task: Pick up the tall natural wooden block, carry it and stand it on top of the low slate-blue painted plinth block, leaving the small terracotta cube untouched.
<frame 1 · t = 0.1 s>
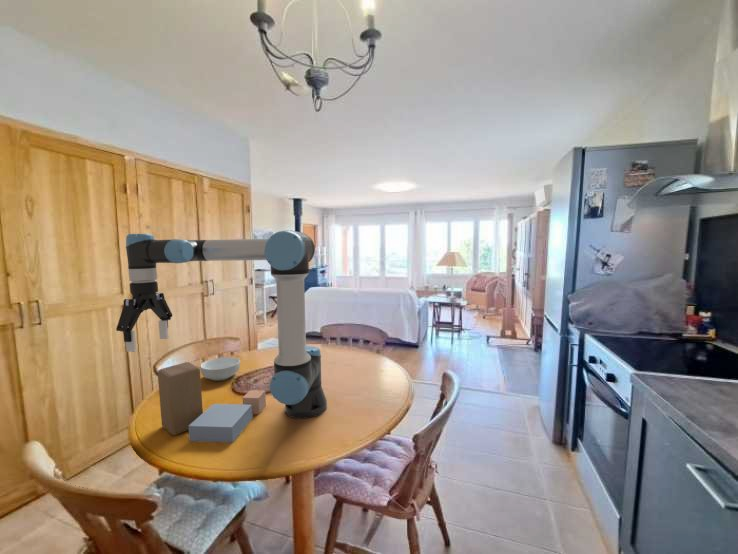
hand: (148, 344, 107), 28 cm above the table, fingers open, 13 cm apart
terracotta cube: (254, 409, 119), on the table
cereal bowl: (221, 377, 149), on the table
wooden block: (183, 425, 109), on the table
plinth: (222, 429, 107), on the table
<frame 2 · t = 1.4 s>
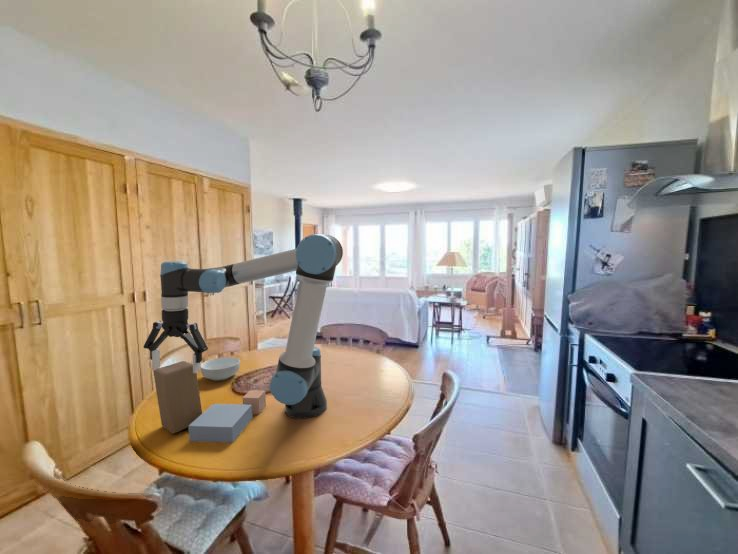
hand: (176, 371, 108), 19 cm above the table, fingers open, 13 cm apart
wooden block: (183, 424, 109), on the table, touching gripper
everything else where it was.
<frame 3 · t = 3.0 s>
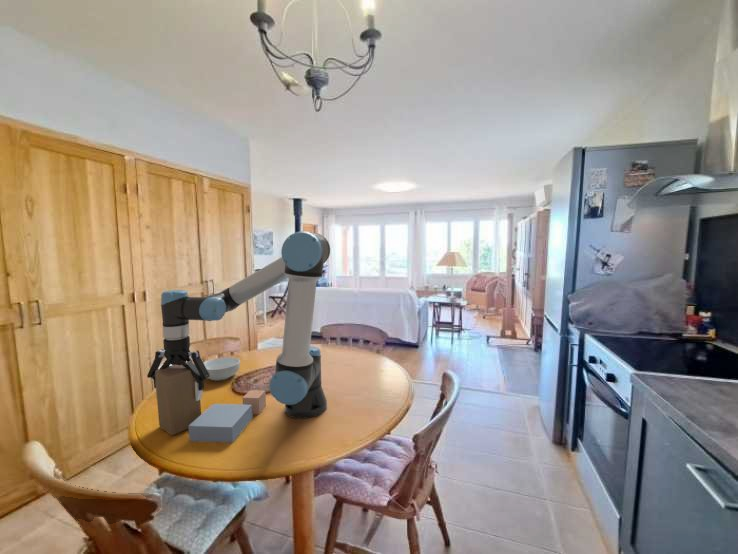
hand: (179, 398, 109), 9 cm above the table, fingers closed on wooden block, 13 cm apart
wooden block: (180, 425, 109), on the table, touching gripper
everything else where it was.
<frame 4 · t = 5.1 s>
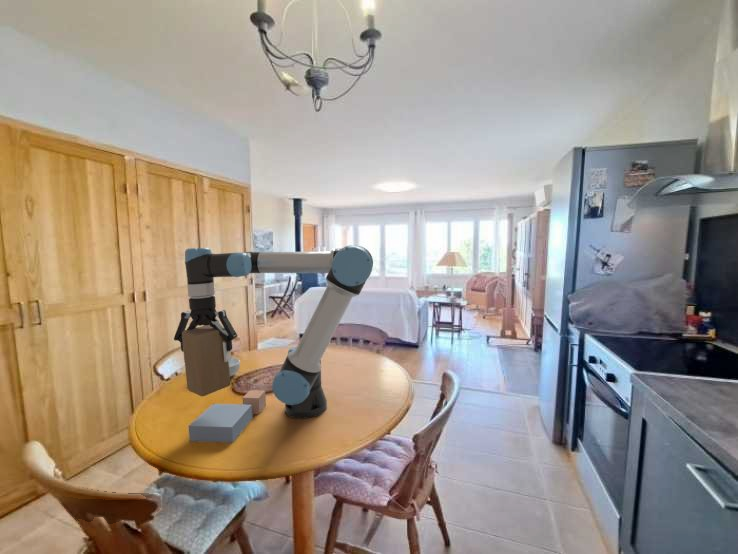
hand: (207, 360, 105), 23 cm above the table, fingers closed on wooden block, 13 cm apart
wooden block: (209, 388, 106), point 14 cm above the table, touching gripper
everything else where it was.
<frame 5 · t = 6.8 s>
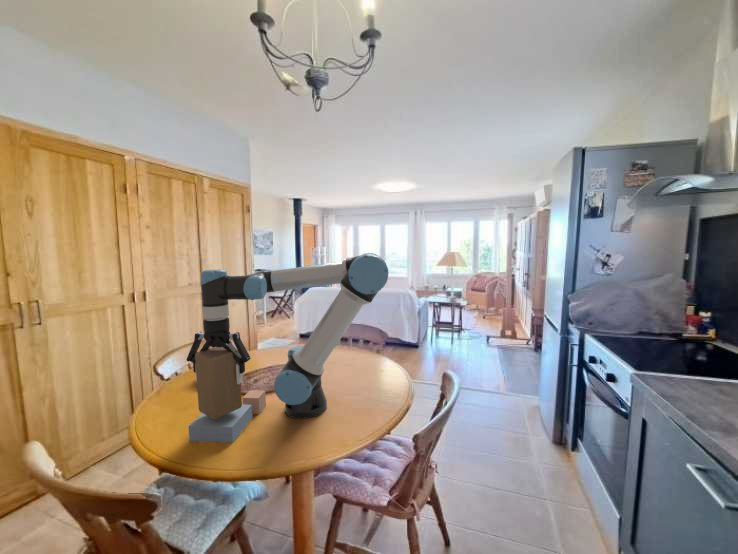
hand: (220, 382, 105), 16 cm above the table, fingers closed on wooden block, 13 cm apart
wooden block: (220, 410, 106), point 7 cm above the table, touching gripper
everything else where it was.
when the fingers open (15 cm above the table, at t = 7.8 s): wooden block stays where it is, resting on plinth.
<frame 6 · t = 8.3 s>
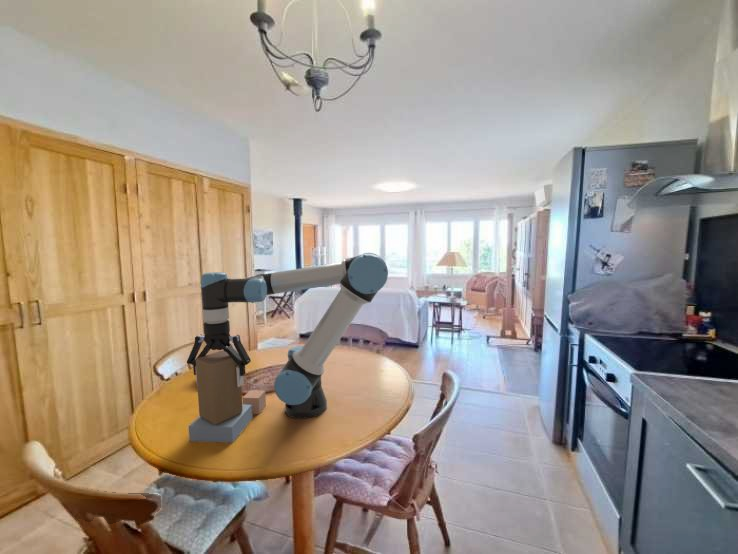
hand: (220, 384, 105), 15 cm above the table, fingers open, 13 cm apart
wooden block: (221, 415, 106), point 5 cm above the table, touching gripper, plinth
everything else where it was.
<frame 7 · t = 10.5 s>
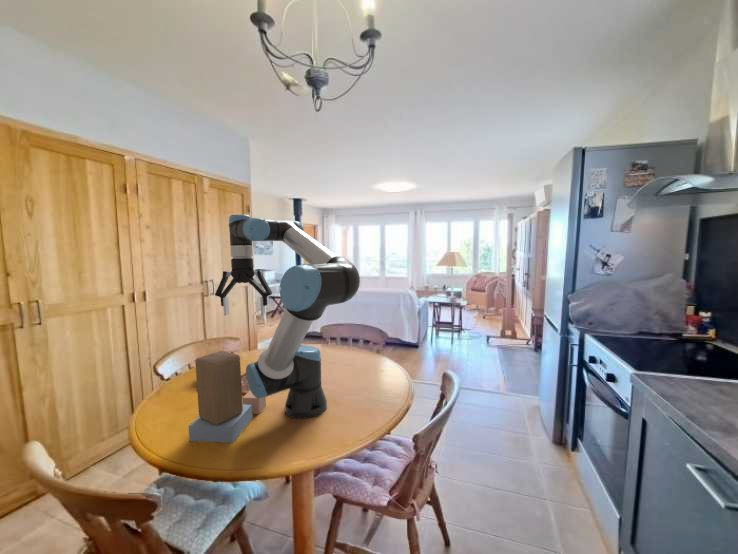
hand: (244, 314, 120), 35 cm above the table, fingers open, 13 cm apart
wooden block: (221, 416, 106), point 5 cm above the table, touching plinth
everything else where it was.
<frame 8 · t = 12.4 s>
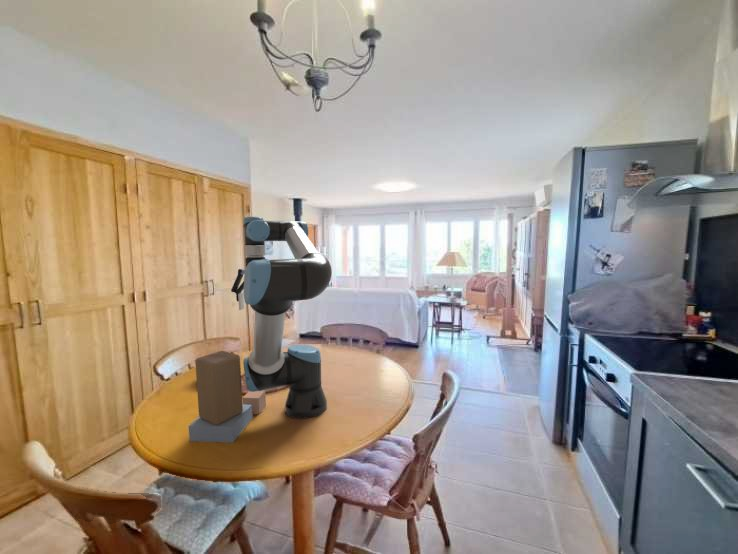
hand: (257, 309, 130), 35 cm above the table, fingers open, 13 cm apart
nothing on the table moved.
at the end: wooden block inside the target area on the plinth (0.6 cm from its centre), point 4.8 cm above the plinth's base; wooden block tilted 0°; wooden block touching plinth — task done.
